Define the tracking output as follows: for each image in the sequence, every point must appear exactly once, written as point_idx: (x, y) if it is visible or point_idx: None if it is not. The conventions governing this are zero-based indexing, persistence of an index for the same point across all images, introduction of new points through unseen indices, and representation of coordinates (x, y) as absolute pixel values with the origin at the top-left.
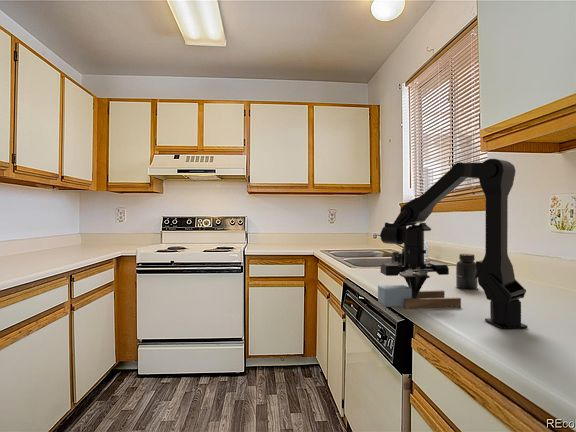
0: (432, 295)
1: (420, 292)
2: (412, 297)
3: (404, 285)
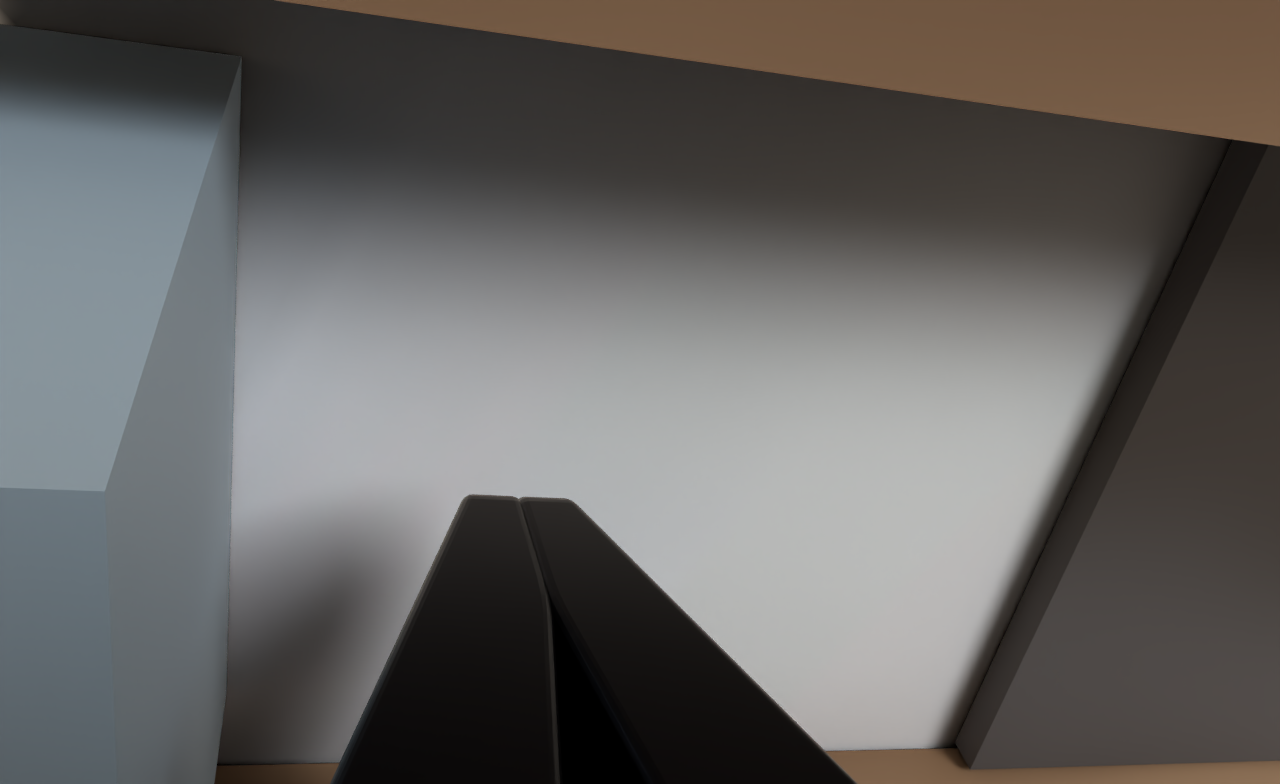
0: None
1: (1197, 131)
2: (462, 507)
3: (62, 730)
